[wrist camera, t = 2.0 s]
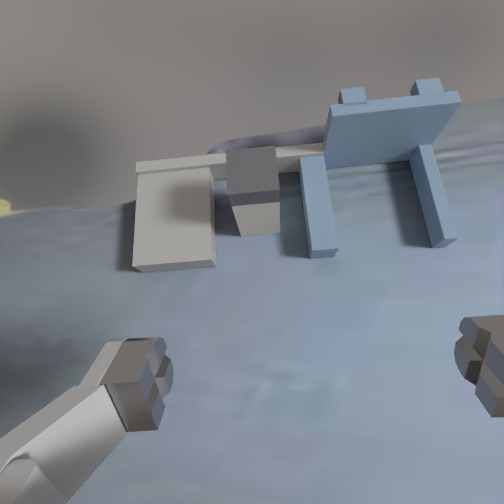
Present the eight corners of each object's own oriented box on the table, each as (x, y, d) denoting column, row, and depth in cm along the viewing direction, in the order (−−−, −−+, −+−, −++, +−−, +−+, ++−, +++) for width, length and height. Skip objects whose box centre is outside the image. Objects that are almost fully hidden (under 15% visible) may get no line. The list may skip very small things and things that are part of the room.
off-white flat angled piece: (143, 272, 32) (129, 264, 29) (147, 177, 36) (136, 162, 33) (334, 256, 31) (339, 246, 28) (319, 159, 35) (322, 142, 32)
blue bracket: (309, 258, 31) (319, 227, 24) (295, 150, 35) (300, 93, 28) (444, 247, 30) (499, 211, 23) (414, 137, 34) (452, 76, 27)
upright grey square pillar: (241, 236, 33) (227, 194, 24) (239, 202, 34) (225, 150, 25) (279, 233, 32) (279, 189, 24) (276, 198, 34) (275, 145, 25)
